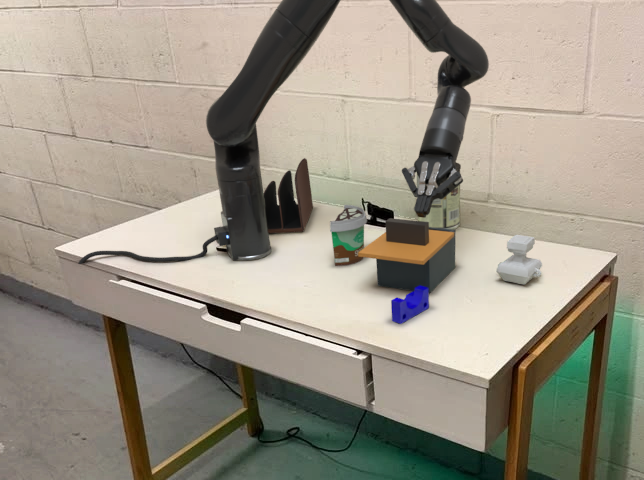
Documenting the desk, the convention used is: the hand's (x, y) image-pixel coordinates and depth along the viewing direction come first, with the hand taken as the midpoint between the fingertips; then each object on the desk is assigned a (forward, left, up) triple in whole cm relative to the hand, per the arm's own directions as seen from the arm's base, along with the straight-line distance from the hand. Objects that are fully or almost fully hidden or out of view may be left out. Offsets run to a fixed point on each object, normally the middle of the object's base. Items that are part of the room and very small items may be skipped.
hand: (420, 215), depth 135 cm
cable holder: (-11, -16, -12) cm, 23 cm away
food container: (-9, +15, -12) cm, 21 cm away
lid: (-5, -4, -4) cm, 8 cm away
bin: (-2, -1, -12) cm, 12 cm away
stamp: (+14, -13, -12) cm, 23 cm away
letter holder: (-13, +48, -12) cm, 51 cm away
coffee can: (+17, +25, -12) cm, 33 cm away
